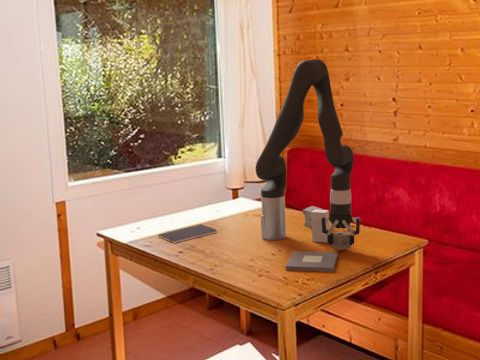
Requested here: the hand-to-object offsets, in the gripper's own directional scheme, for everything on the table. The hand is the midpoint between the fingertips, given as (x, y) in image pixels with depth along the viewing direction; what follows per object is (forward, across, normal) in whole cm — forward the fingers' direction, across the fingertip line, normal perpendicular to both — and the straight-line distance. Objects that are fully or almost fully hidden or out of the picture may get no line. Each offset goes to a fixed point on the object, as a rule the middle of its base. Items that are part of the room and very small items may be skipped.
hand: (340, 244), depth 221 cm
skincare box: (+3, -9, +12) cm, 15 cm away
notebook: (+4, -65, +16) cm, 67 cm away
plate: (+2, -9, -14) cm, 17 cm away
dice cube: (+1, 0, 0) cm, 1 cm away
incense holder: (+3, -14, +31) cm, 34 cm away
